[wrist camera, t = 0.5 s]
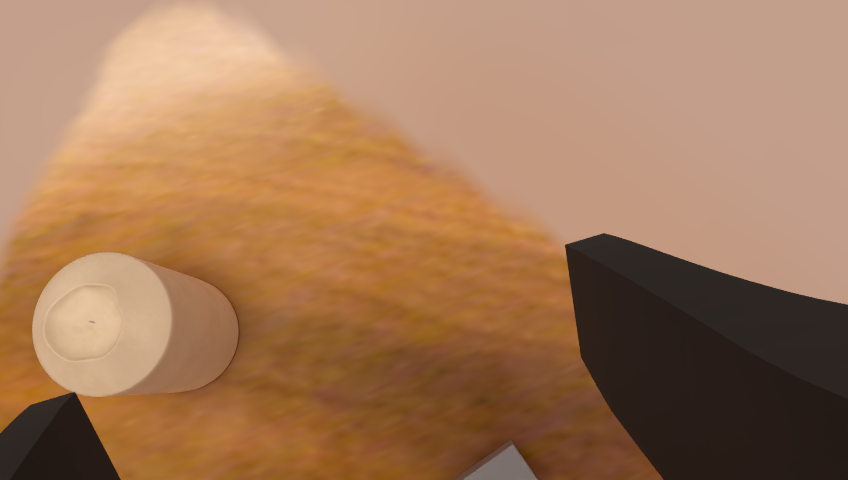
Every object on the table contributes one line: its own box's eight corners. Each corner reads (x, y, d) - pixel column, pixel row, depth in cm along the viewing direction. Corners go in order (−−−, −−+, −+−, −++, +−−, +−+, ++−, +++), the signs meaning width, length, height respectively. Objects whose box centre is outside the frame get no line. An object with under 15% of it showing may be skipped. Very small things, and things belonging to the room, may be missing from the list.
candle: (193, 255, 39) (95, 215, 29) (263, 338, 38) (186, 326, 28) (108, 330, 38) (-20, 315, 28) (176, 416, 37) (68, 430, 28)
